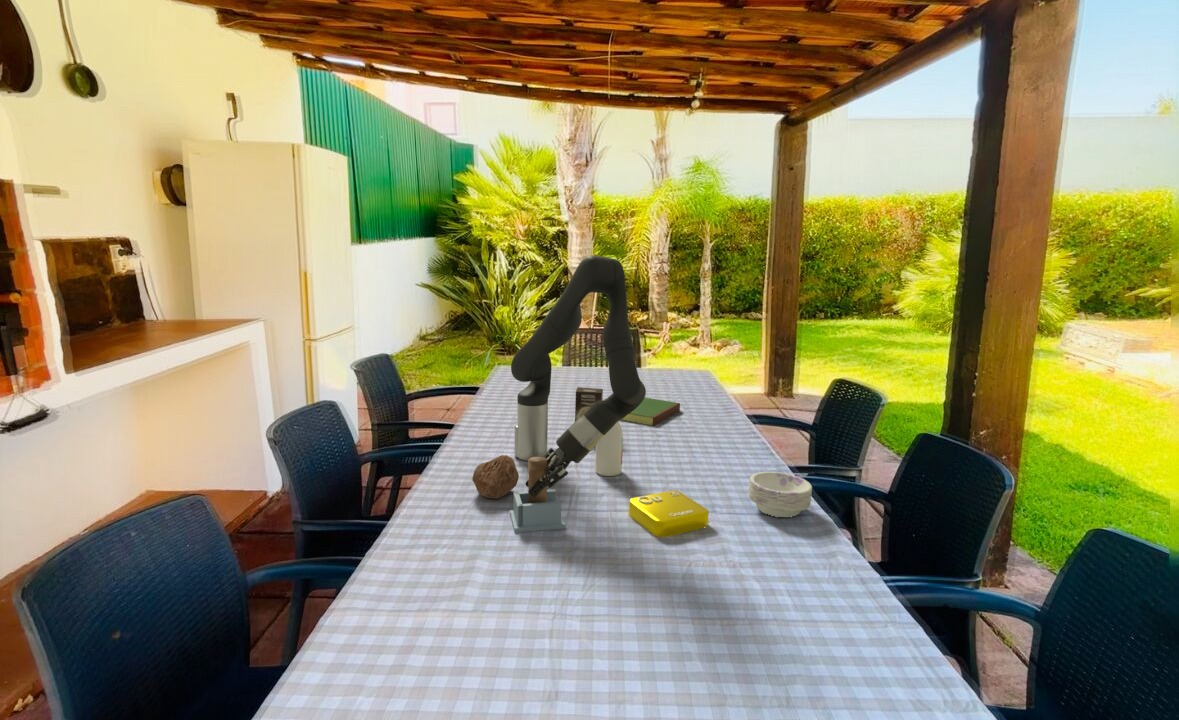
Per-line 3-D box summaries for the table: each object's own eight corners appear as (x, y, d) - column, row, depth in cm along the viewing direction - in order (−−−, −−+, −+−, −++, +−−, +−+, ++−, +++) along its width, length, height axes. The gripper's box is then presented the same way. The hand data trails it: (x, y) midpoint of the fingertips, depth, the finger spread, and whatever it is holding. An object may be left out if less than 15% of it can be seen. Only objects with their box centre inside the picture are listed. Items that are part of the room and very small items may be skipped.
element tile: (658, 540, 147) (659, 520, 146) (625, 514, 160) (626, 496, 159) (711, 528, 153) (712, 509, 153) (675, 504, 167) (676, 487, 166)
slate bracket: (514, 532, 148) (514, 508, 147) (509, 514, 157) (509, 491, 156) (565, 528, 151) (566, 504, 150) (558, 510, 160) (558, 487, 159)
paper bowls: (809, 503, 168) (812, 475, 167) (809, 528, 154) (812, 497, 152) (750, 495, 173) (752, 467, 171) (744, 517, 159) (746, 487, 157)
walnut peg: (524, 513, 153) (524, 461, 150) (534, 506, 157) (534, 455, 154) (540, 517, 151) (541, 464, 148) (550, 510, 155) (550, 458, 152)
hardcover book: (653, 427, 233) (654, 417, 233) (608, 418, 243) (608, 409, 242) (680, 411, 255) (680, 402, 254) (637, 404, 264) (638, 395, 263)
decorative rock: (503, 481, 178) (503, 446, 176) (529, 493, 171) (529, 457, 169) (463, 493, 169) (463, 457, 167) (488, 507, 161) (488, 469, 160)
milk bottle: (619, 478, 183) (621, 410, 179) (592, 475, 184) (594, 408, 180) (623, 468, 190) (626, 403, 186) (597, 466, 191) (599, 401, 188)
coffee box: (573, 437, 218) (574, 391, 215) (575, 431, 224) (576, 386, 221) (600, 438, 217) (601, 392, 214) (602, 433, 223) (603, 388, 220)
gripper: (563, 420, 158) (514, 469, 158) (575, 437, 145) (521, 492, 144) (584, 439, 160) (535, 488, 160) (598, 459, 147) (545, 512, 146)
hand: (529, 490), depth 152 cm, fingers closed on walnut peg, 4 cm apart
